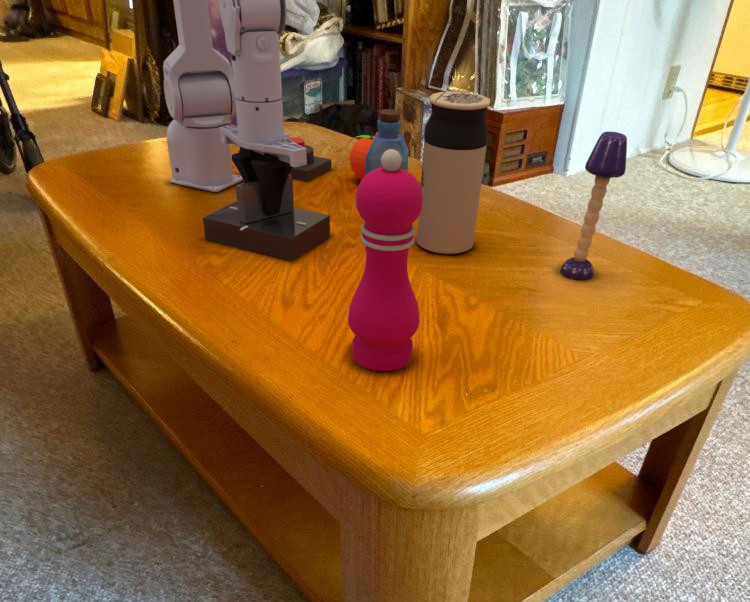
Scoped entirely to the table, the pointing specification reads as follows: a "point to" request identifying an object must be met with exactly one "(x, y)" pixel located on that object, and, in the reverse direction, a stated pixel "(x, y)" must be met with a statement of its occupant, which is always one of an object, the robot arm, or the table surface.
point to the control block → (311, 167)
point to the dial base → (269, 231)
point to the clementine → (360, 155)
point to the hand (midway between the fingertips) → (266, 211)
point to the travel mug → (452, 171)
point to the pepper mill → (386, 267)
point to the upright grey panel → (260, 201)
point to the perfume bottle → (387, 141)
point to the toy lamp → (597, 197)
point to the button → (298, 141)
